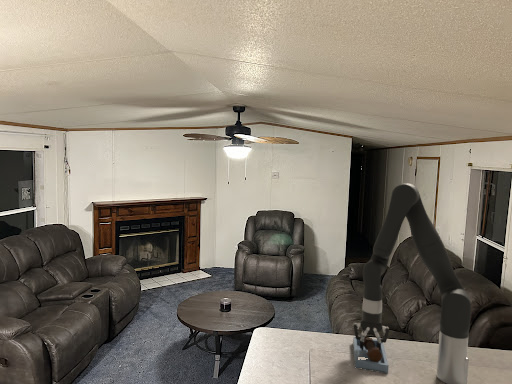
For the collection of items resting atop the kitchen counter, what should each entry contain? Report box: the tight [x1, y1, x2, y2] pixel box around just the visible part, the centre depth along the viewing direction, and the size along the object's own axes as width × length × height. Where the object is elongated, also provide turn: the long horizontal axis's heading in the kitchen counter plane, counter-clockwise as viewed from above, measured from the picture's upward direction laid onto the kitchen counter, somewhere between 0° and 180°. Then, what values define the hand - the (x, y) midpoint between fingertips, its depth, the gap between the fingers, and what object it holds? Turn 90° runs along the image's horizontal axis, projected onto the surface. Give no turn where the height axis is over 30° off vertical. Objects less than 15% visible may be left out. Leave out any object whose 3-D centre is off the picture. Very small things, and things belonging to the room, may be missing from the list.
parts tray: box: [352, 336, 390, 374], centre depth 150 cm, size 12×21×3 cm, turn 167°
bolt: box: [364, 335, 382, 362], centre depth 149 cm, size 6×5×15 cm
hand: (369, 350), depth 150 cm, fingers closed on bolt, 5 cm apart
